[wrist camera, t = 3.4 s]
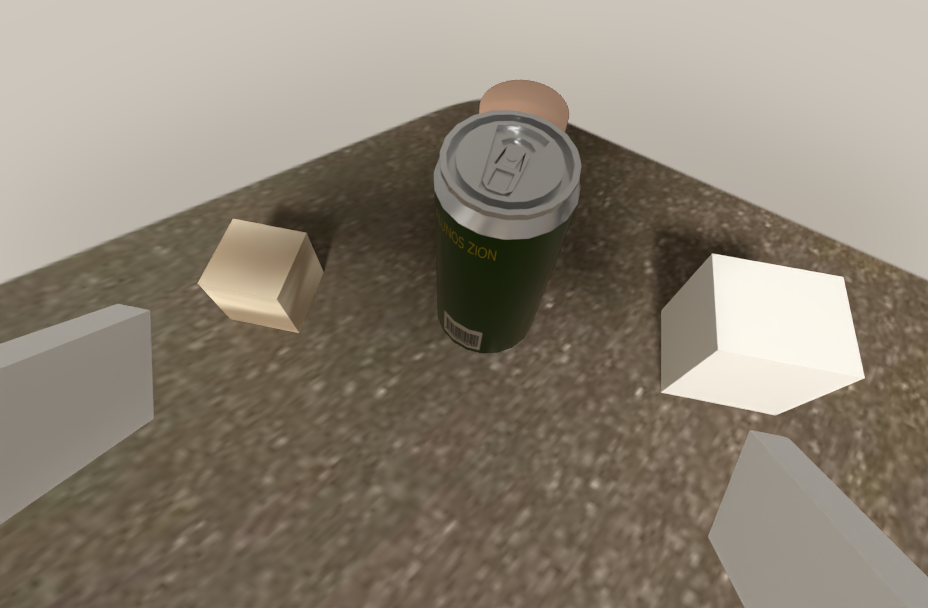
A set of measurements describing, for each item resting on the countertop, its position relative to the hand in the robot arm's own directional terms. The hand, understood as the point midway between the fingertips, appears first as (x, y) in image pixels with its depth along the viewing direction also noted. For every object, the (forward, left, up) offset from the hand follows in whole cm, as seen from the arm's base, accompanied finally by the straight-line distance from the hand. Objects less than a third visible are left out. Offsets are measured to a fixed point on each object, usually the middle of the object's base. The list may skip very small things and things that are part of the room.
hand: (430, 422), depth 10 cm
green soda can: (+8, -6, -14) cm, 17 cm away
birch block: (+13, +5, -14) cm, 20 cm away
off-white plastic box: (+1, -17, -14) cm, 22 cm away
